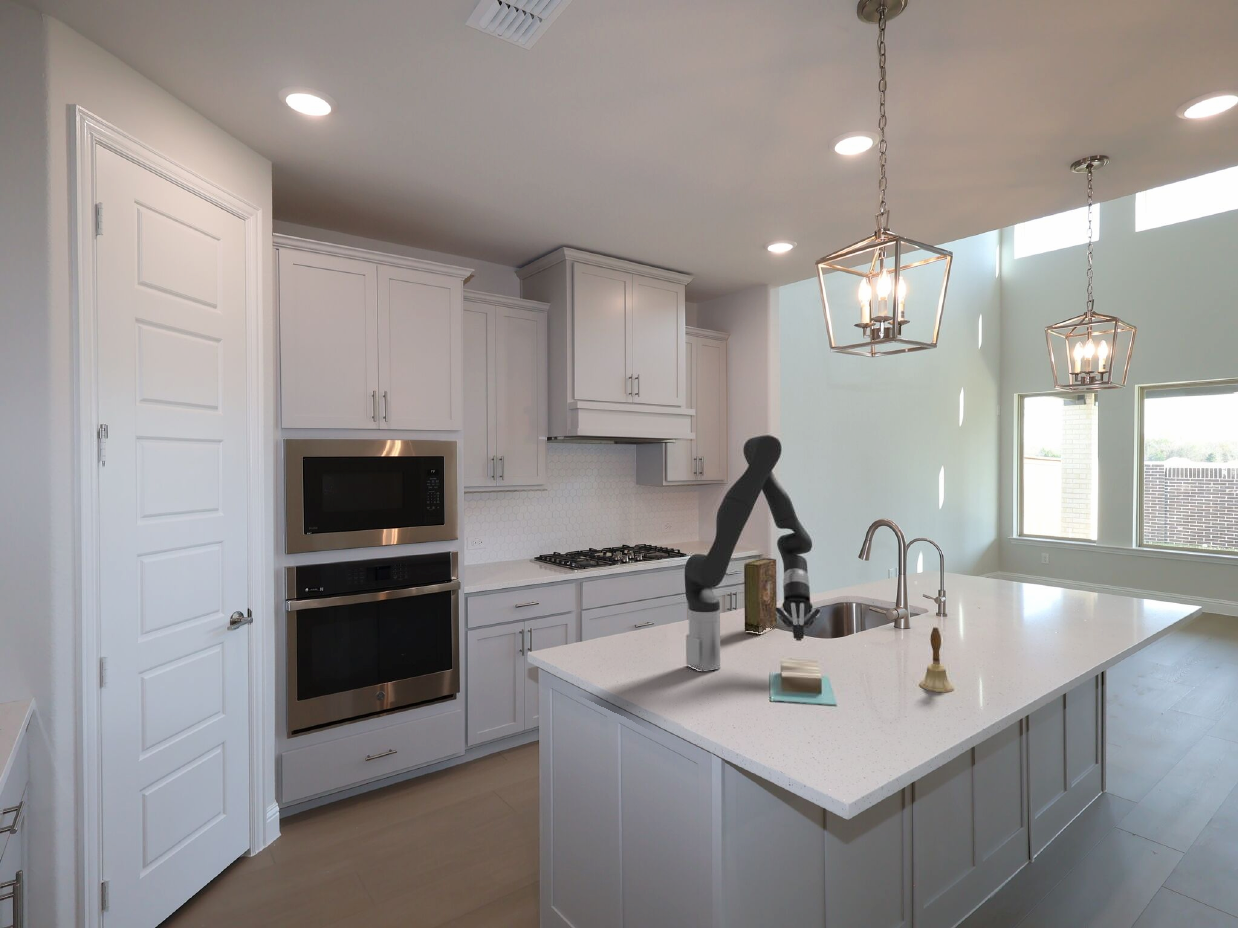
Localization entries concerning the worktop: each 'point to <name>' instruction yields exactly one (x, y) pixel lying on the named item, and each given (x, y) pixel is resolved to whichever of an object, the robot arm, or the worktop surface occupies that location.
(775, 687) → the mat
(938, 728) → the worktop surface
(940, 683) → the hand bell
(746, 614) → the book
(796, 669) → the block
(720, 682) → the worktop surface
